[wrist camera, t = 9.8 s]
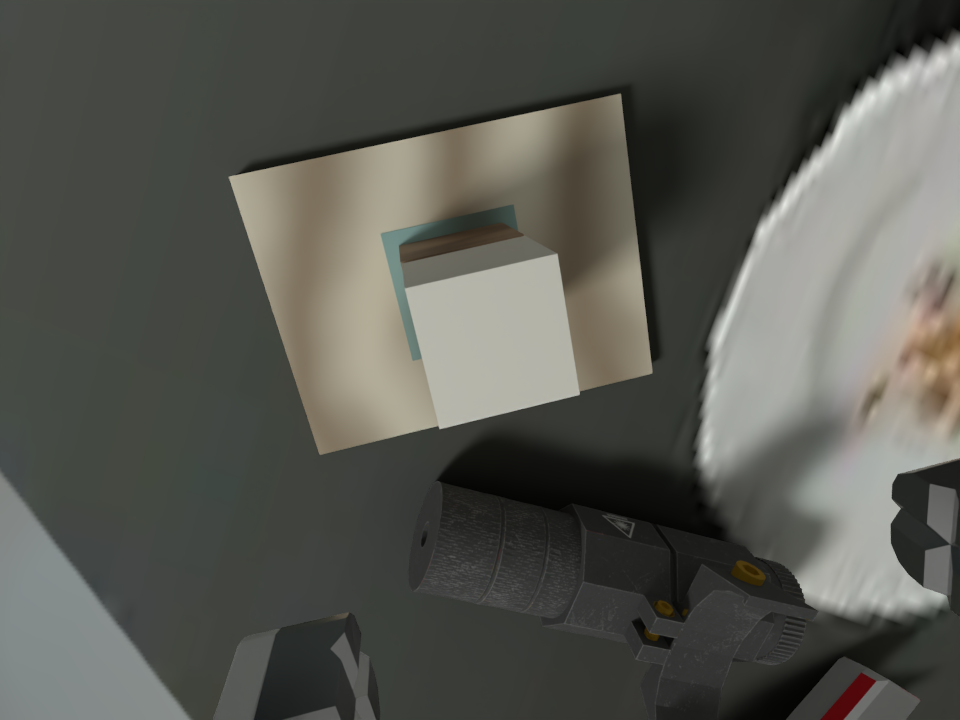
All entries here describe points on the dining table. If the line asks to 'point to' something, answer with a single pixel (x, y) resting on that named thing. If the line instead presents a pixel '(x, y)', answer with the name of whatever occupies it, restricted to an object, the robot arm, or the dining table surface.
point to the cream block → (491, 329)
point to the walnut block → (456, 242)
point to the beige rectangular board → (432, 213)
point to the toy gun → (855, 696)
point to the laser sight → (615, 588)
